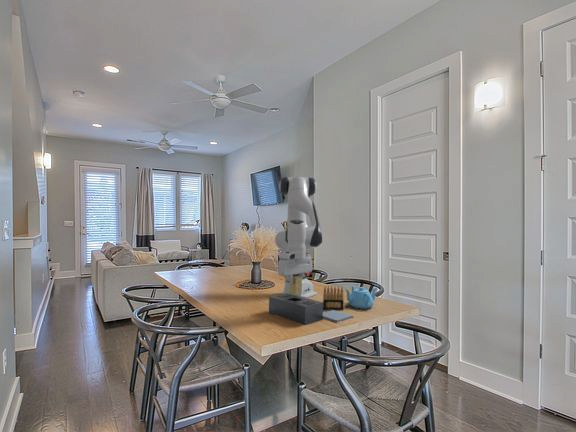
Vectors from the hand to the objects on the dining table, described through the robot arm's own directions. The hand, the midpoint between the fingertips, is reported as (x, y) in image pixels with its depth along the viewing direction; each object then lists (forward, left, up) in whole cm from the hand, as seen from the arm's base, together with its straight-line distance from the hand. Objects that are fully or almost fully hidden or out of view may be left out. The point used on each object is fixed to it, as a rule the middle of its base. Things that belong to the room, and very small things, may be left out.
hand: (295, 283), depth 153 cm
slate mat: (-14, +13, -16) cm, 25 cm away
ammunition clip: (-24, +4, -16) cm, 29 cm away
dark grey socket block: (0, 0, -16) cm, 16 cm away
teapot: (-41, +9, -16) cm, 45 cm away
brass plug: (0, 0, -5) cm, 5 cm away
